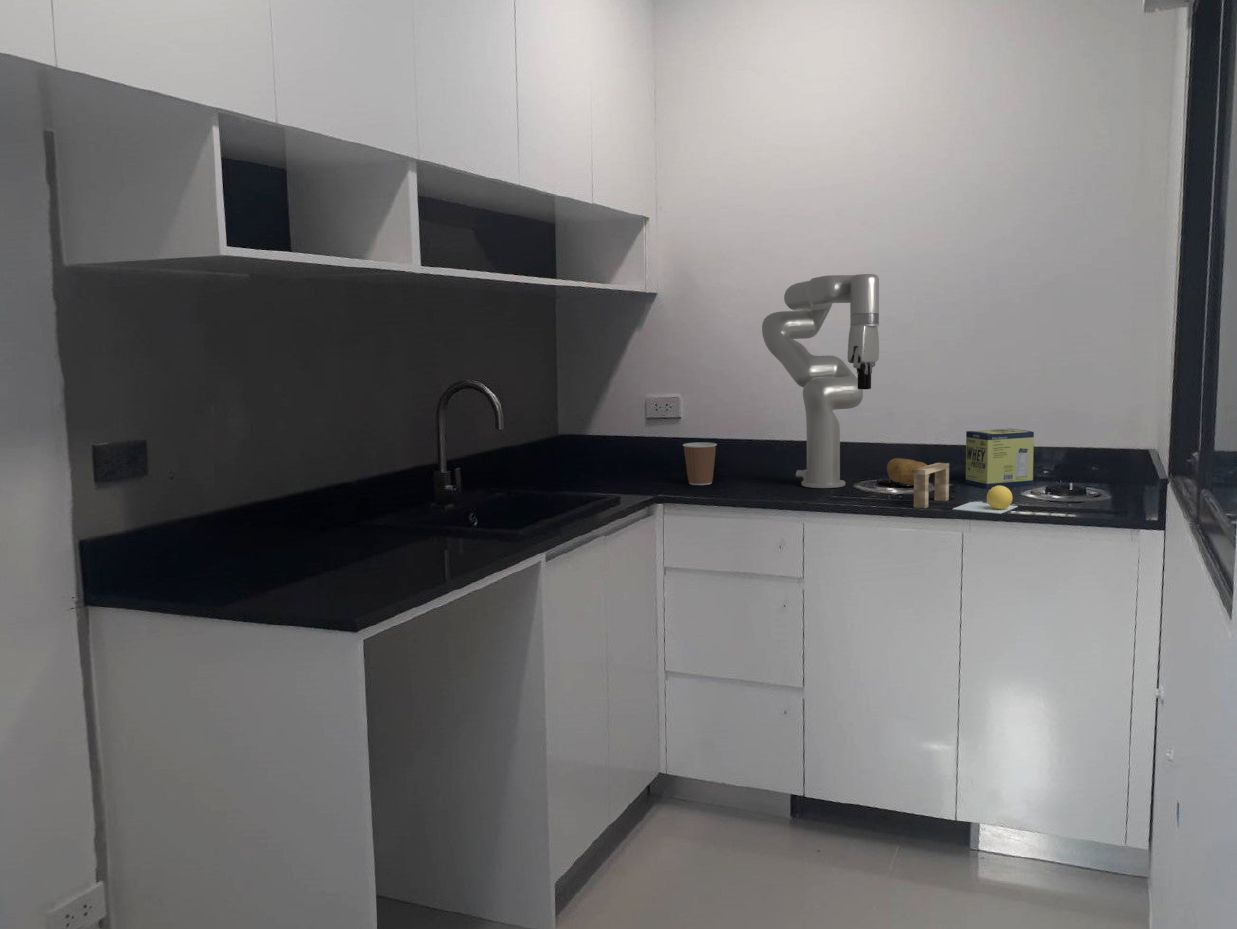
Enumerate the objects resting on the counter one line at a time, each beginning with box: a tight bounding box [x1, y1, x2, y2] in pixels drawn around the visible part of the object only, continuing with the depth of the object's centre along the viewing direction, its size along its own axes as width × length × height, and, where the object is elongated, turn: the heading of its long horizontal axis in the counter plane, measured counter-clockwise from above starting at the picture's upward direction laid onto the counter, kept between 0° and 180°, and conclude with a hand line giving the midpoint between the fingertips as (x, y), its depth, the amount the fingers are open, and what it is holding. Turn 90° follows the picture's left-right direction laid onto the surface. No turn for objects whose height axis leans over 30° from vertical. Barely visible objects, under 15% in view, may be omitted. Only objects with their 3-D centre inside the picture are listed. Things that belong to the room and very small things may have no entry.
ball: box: [986, 486, 1013, 510], centre depth 258 cm, size 6×6×6 cm
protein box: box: [965, 428, 1035, 490], centre depth 297 cm, size 10×16×16 cm
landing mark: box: [951, 501, 1018, 515], centre depth 261 cm, size 12×12×1 cm
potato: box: [886, 457, 931, 485], centre depth 298 cm, size 10×14×8 cm
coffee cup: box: [682, 442, 718, 486], centre depth 316 cm, size 10×10×12 cm
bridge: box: [913, 462, 950, 509], centre depth 269 cm, size 3×15×10 cm, turn 140°
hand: (864, 389), depth 283 cm, fingers closed
